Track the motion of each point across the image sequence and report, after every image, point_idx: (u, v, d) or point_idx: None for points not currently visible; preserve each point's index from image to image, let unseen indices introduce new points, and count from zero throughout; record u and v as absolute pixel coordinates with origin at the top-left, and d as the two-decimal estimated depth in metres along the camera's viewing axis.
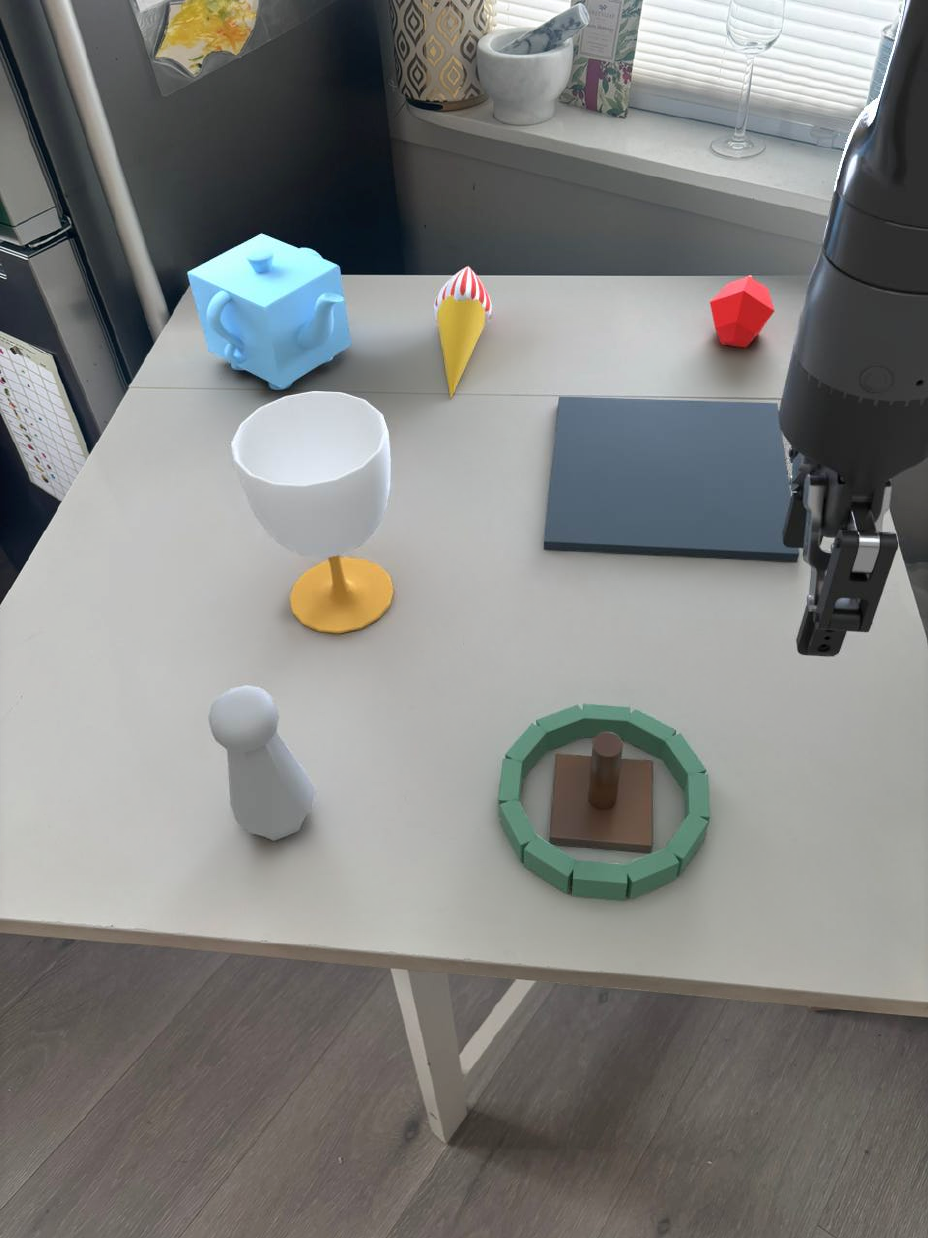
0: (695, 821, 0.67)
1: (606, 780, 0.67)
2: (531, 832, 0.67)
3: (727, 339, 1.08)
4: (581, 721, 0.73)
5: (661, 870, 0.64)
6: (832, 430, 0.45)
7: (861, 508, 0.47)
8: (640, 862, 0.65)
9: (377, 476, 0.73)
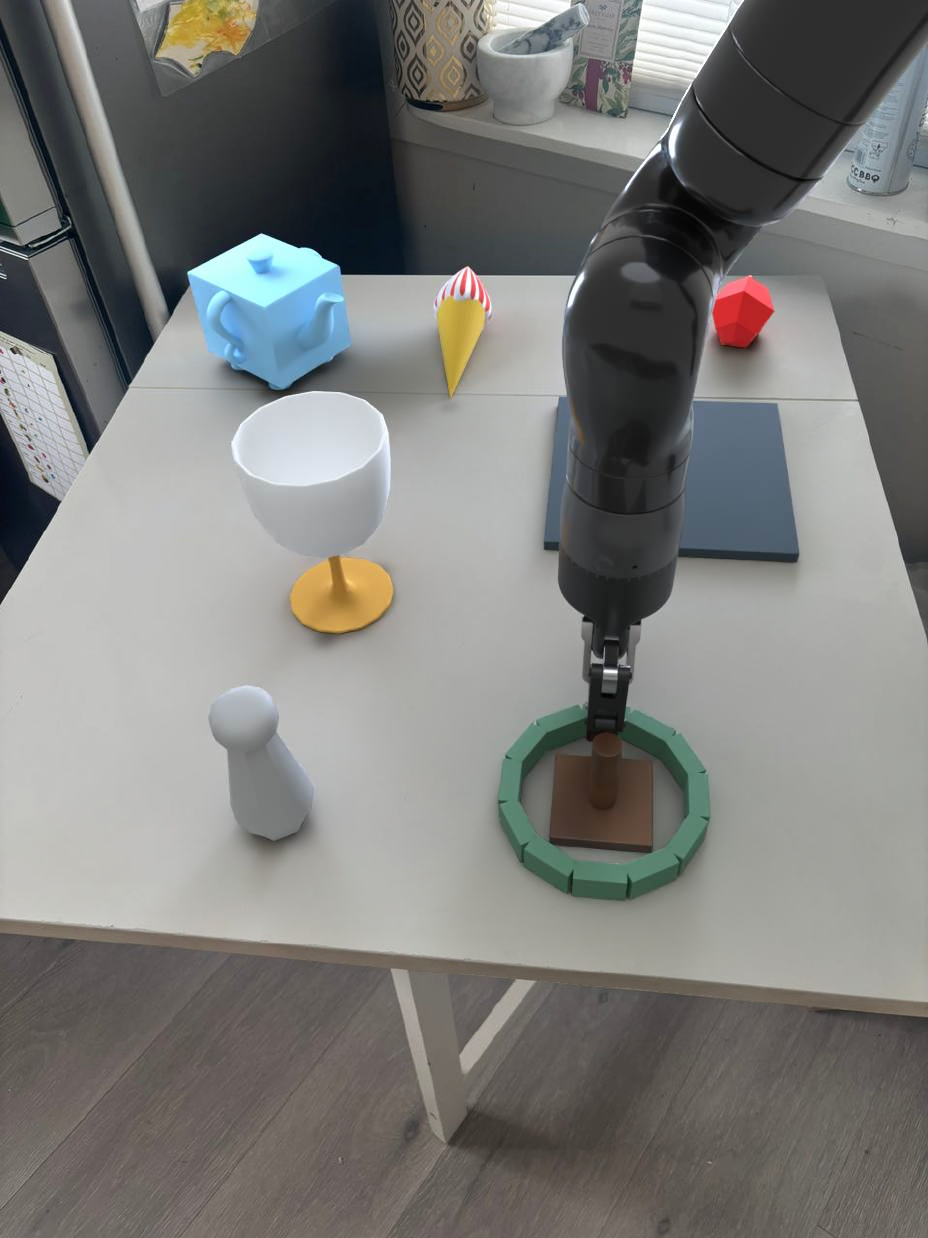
0: (695, 821, 0.67)
1: (606, 780, 0.67)
2: (531, 832, 0.67)
3: (727, 339, 1.08)
4: (581, 721, 0.73)
5: (661, 870, 0.64)
6: (583, 592, 0.62)
7: (611, 645, 0.64)
8: (640, 862, 0.65)
9: (377, 476, 0.73)
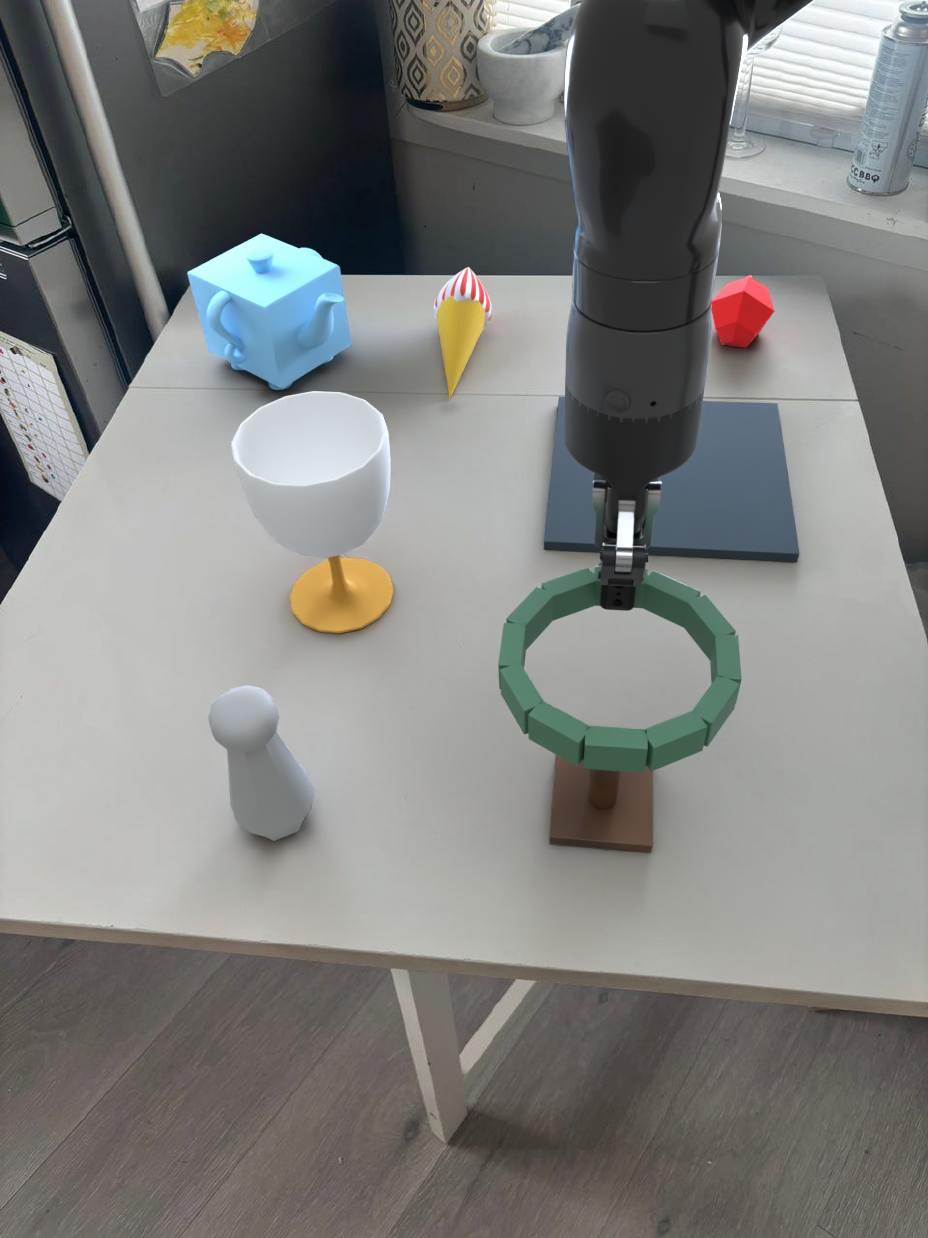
0: (724, 683, 0.58)
1: (606, 780, 0.67)
2: (536, 697, 0.58)
3: (727, 339, 1.08)
4: (592, 585, 0.65)
5: (687, 734, 0.56)
6: (594, 442, 0.53)
7: (626, 519, 0.56)
8: (662, 727, 0.56)
9: (377, 476, 0.73)
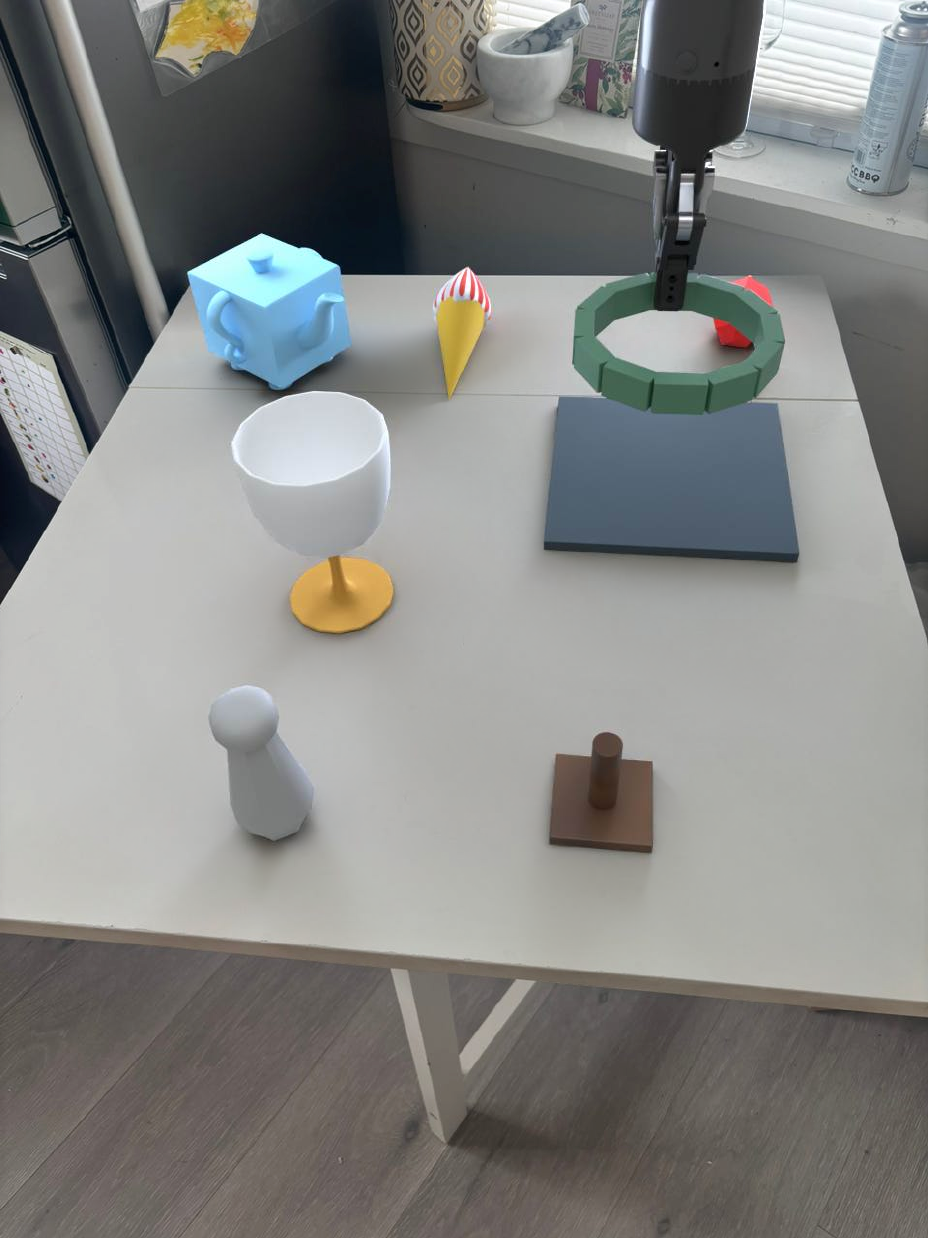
0: (771, 344, 0.68)
1: (606, 780, 0.67)
2: (609, 355, 0.67)
3: (727, 339, 1.08)
4: (650, 285, 0.74)
5: (741, 375, 0.65)
6: (662, 112, 0.63)
7: (687, 189, 0.65)
8: (720, 371, 0.66)
9: (377, 476, 0.73)
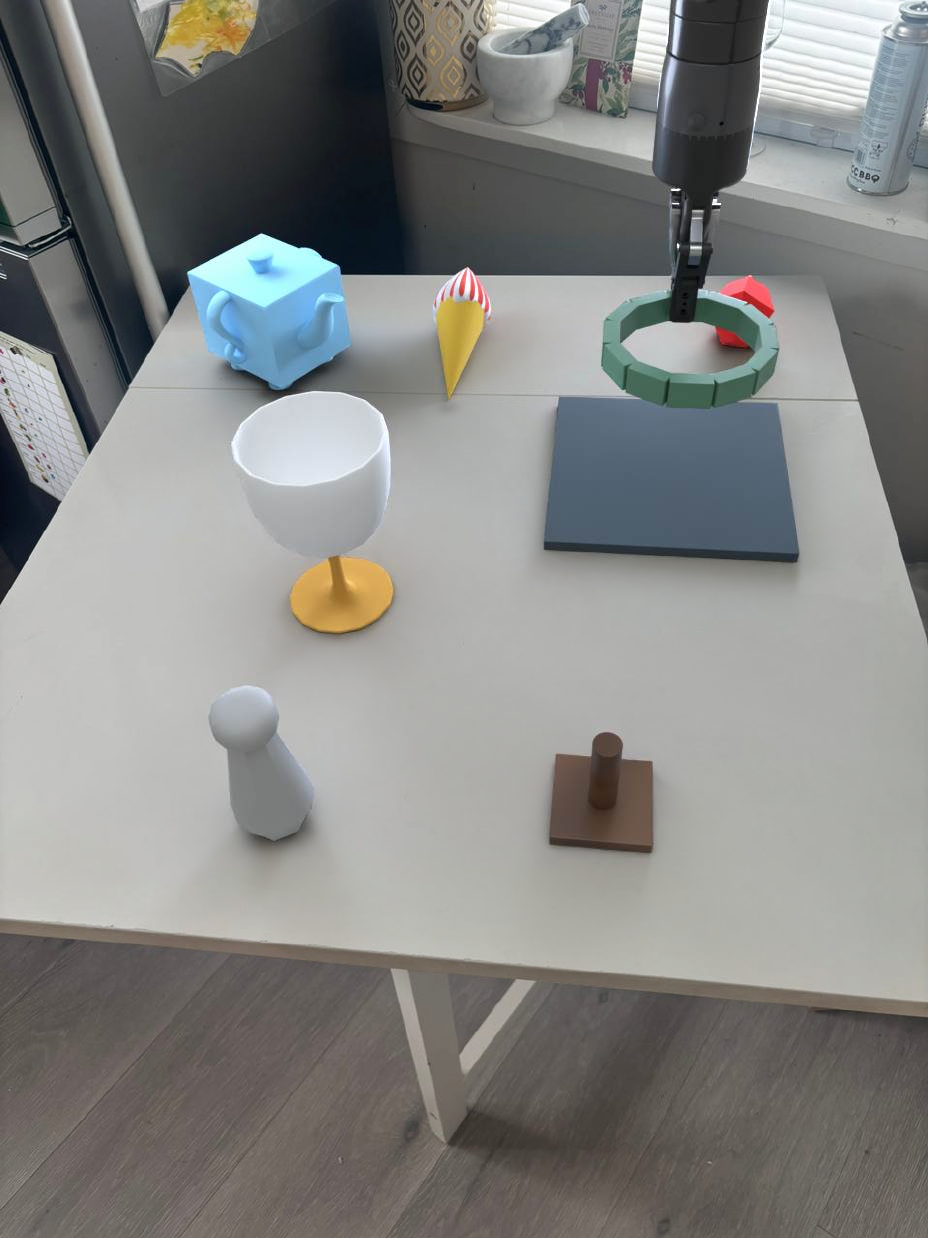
0: (767, 350, 0.81)
1: (606, 780, 0.67)
2: (632, 358, 0.81)
3: (727, 339, 1.08)
4: (667, 300, 0.88)
5: (742, 376, 0.79)
6: (677, 160, 0.76)
7: (697, 223, 0.79)
8: (724, 373, 0.79)
9: (377, 476, 0.73)
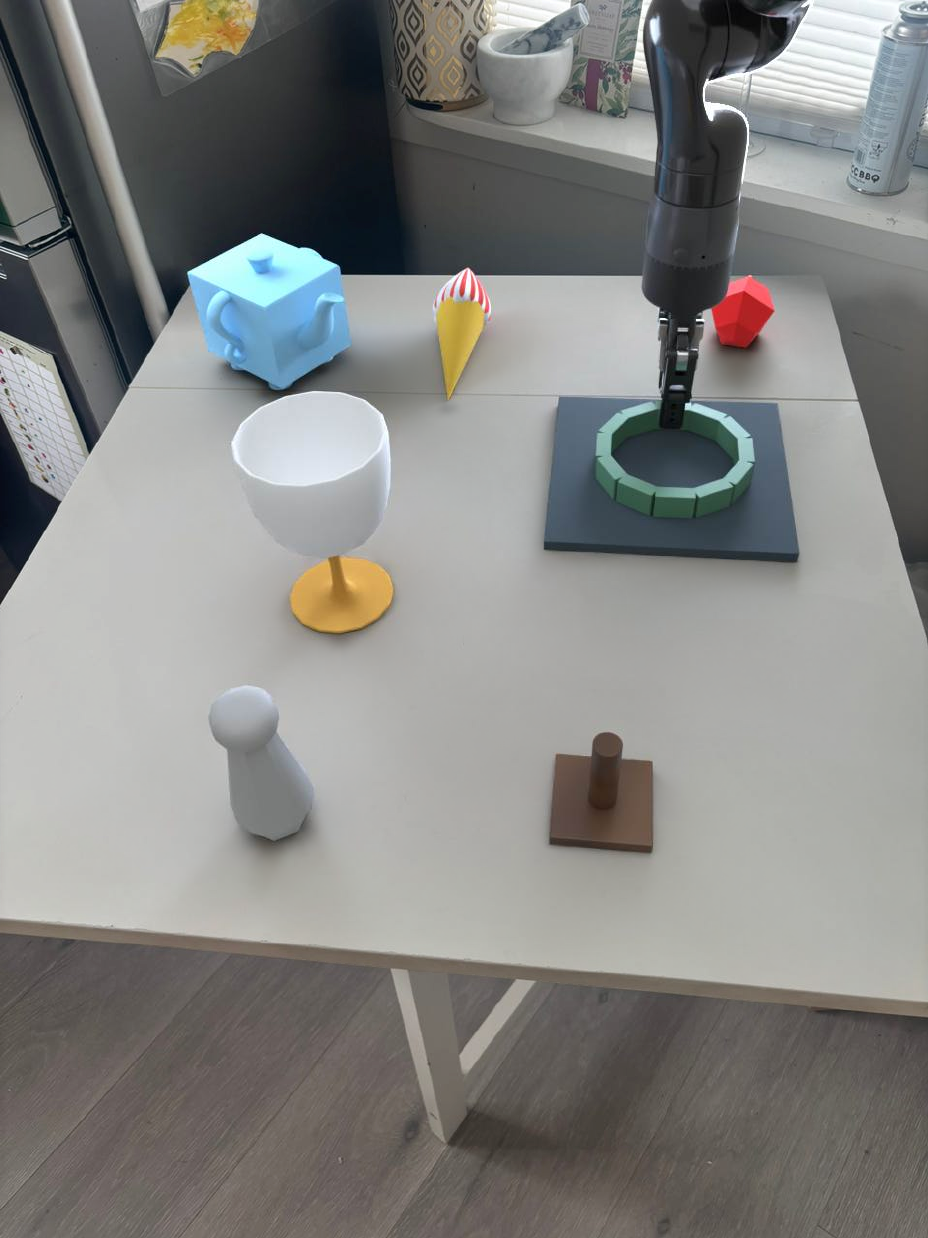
0: (744, 464, 0.90)
1: (606, 780, 0.67)
2: (622, 472, 0.90)
3: (727, 339, 1.08)
4: (654, 412, 0.96)
5: (720, 490, 0.88)
6: (664, 286, 0.84)
7: (683, 335, 0.86)
8: (704, 487, 0.88)
9: (377, 476, 0.73)
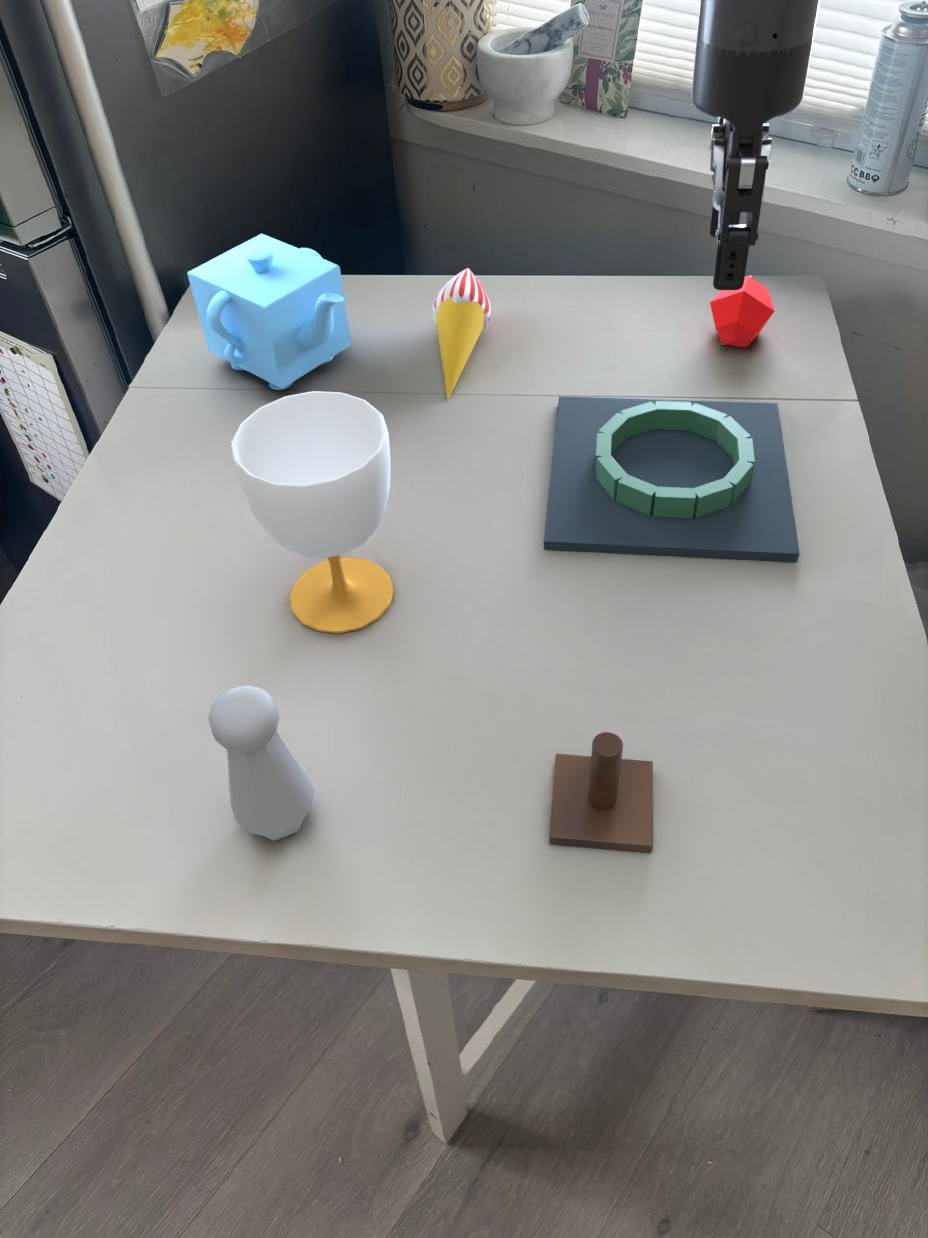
0: (744, 464, 0.90)
1: (606, 780, 0.67)
2: (622, 472, 0.90)
3: (727, 339, 1.08)
4: (654, 412, 0.96)
5: (720, 490, 0.88)
6: (722, 83, 0.65)
7: (746, 147, 0.67)
8: (704, 487, 0.88)
9: (377, 476, 0.73)
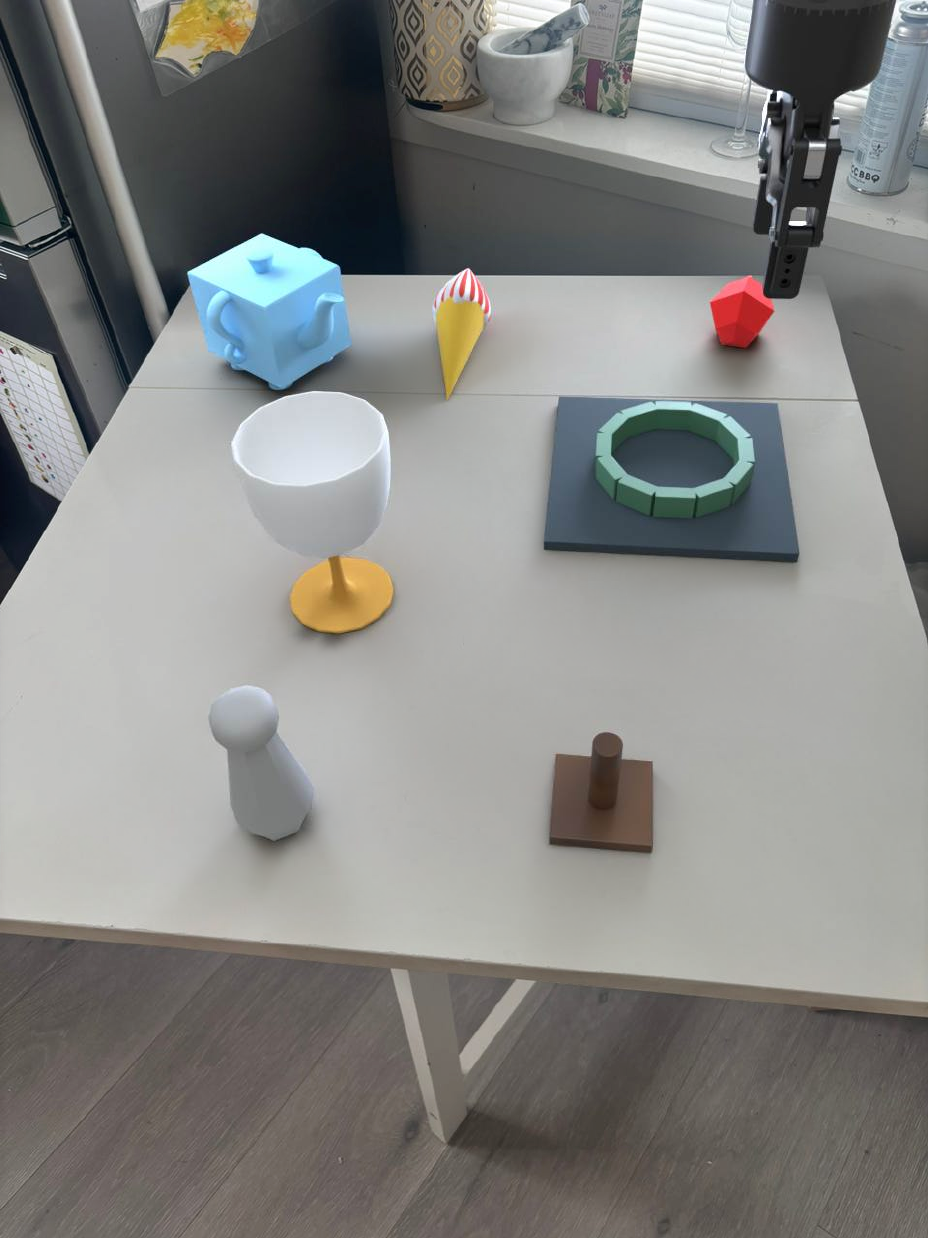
0: (744, 464, 0.90)
1: (606, 780, 0.67)
2: (622, 472, 0.90)
3: (727, 339, 1.08)
4: (654, 412, 0.96)
5: (720, 490, 0.88)
6: (786, 50, 0.53)
7: (812, 128, 0.55)
8: (704, 487, 0.88)
9: (377, 476, 0.73)
